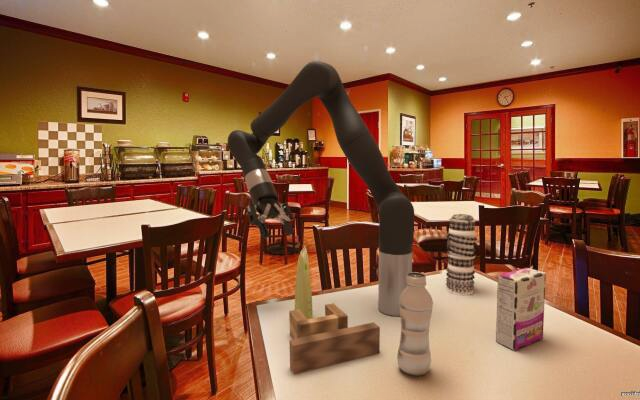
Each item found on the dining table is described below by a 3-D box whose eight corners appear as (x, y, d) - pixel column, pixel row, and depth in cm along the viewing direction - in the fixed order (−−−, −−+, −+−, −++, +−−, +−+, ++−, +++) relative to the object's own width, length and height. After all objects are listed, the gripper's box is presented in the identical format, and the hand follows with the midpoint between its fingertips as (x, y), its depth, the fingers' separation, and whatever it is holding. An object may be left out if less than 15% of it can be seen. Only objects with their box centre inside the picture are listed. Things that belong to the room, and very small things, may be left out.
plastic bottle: (392, 362, 73) (394, 270, 71) (423, 360, 73) (426, 269, 71) (402, 381, 66) (404, 281, 64) (436, 379, 67) (439, 280, 65)
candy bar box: (522, 330, 86) (526, 266, 84) (543, 339, 81) (547, 272, 80) (493, 341, 81) (496, 274, 79) (514, 352, 76) (517, 280, 74)
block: (333, 325, 89) (333, 303, 89) (347, 339, 82) (347, 315, 81) (289, 334, 85) (289, 311, 84) (300, 350, 77) (299, 325, 77)
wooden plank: (373, 347, 79) (373, 322, 78) (379, 352, 76) (379, 327, 76) (290, 367, 71) (289, 339, 71) (293, 374, 69) (293, 345, 68)
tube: (317, 319, 93) (316, 249, 90) (301, 324, 90) (300, 252, 88) (306, 312, 97) (305, 244, 95) (290, 316, 94) (289, 247, 92)
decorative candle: (439, 286, 116) (441, 213, 113) (462, 284, 118) (465, 212, 115) (455, 297, 107) (458, 218, 104) (481, 294, 109) (484, 216, 107)
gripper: (247, 180, 95) (265, 232, 90) (285, 181, 106) (304, 228, 100) (234, 194, 100) (251, 244, 94) (272, 193, 110) (290, 239, 105)
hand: (279, 236), depth 97 cm, fingers open, 8 cm apart
